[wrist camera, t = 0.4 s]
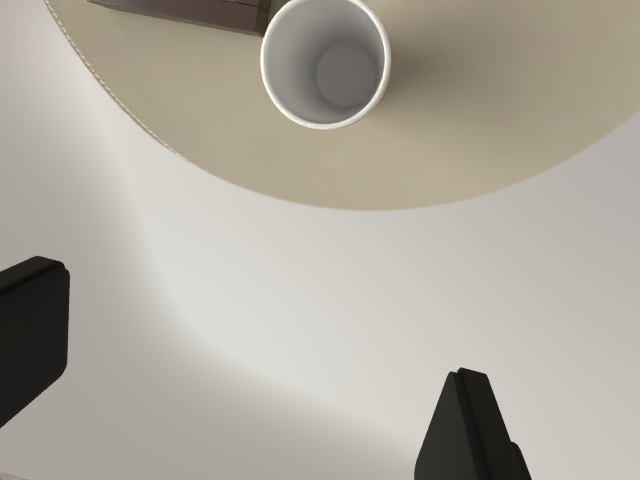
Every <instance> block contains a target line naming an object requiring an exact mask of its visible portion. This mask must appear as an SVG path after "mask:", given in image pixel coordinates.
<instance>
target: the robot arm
mask: <svg viewBox="0 0 640 480" xmlns="http://www.w3.org/2000/svg"><path fill="white" fill-rule="evenodd" d="M69 286H70V274H69V271H68V270H67V269H65V266H64V264H63V263H62V262H60V261H56V260H52V259H48V258H45V257H41V256H35V257H32V258H30V259H28V260H25V261H23V262H21V263H19V264H17V265H14V266H12V267H10V268H8V269H5V270H4V271H1V272H0V428H1V427H2V426H3V425H5V424H6V423H7V422H8V421H9V420H11V419H12V418H13V417H14V416H15V415H16V414H18V413H19V412H20V411H21V410H22V409H23V408H25V407H26V406H27V405H28V404H29V403H30V402H32V401H33V400H34V399H35V398H36V397H37V396H39V395H40V394H41V393H42V392H43V391H44V390H45V389H47V388H48V387H49V386H50V385H51V384H53V383H54V382H55V381H56V380H57V379H58V378H59V377H60V376H61V375H62V374H63V372H64V370H65V368H66V365H67V352H68V320H69V288H70V287H69ZM0 480H27V479H23V478H20V477H17V476H13V475H9V474H6V473H3V472H0ZM414 480H532V479H531V476H530V474H529V471H528V468H527V466H526V463H525V461H524V458H523V455H522V453H521V450H520V448H519V447H518V445H517V444H516V443H514V442H511V440H510V438H509V435H508V432H507V429H506V426H505V424H504V421H503V418H502V415H501V413H500V410H499V407H498V404H497V401H496V399H495V396H494V393H493V390H492V388H491V385H490V382H489V379H488V377H487V375H486V374H484V373H480V372H477V371H473V370H469V369H465V368H459V370H458V371H457V373H456V372H449V374H448V376H447V378H446V381H445V384H444V387H443V390H442V392H441V395H440V398H439V400H438V403H437V406H436V409H435V412H434V414H433V417H432V420H431V422H430V425H429V428H428V431H427V433H426V436H425V439H424V441H423V444H422V447H421V450H420V453H419V455H418V458H417V461H416V465H415V472H414Z"/></svg>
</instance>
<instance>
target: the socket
mask: <svg viewBox="0 0 640 480" xmlns="http://www.w3.org/2000/svg"><path fill="white" fill-rule="evenodd" d="M87 1H88V2H91V3H94V4H97V5H100V6H103V7H106V8H109V9H115V10H120V11H125V12H131V13H136V14H141V15H147V16H152V17H157V18H163V19H168V20H173V21H179V22H184V23H189V24H195V25H200V26H205V27H211V28H216V29H221V30H227V31H232V32H238V33H243V34H248V35H254V36H259V37H264V36H265V33H266V30H267V22H268V13H269V8H270V0H236V2H237V3H236V2H231V1H225V0H87Z"/></svg>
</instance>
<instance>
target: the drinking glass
mask: <svg viewBox="0 0 640 480" xmlns="http://www.w3.org/2000/svg"><path fill="white" fill-rule="evenodd" d="M260 62H261V73H262V78H263V81H264V85H265V87H266V90H267V92H268V94H269V96H270V98H271V99H272V101H273V102H274V104H275V105H276V106H277V108H278V109H279V110H280V111H281V112H282V113H283V114H284V115H286V116H287V117H288V118H290V119H291V120H293V121H294V122H296V123H298V124H300V125H302V126H305V127H308V128H312V129H319V130H330V129H338V128H343V127H346V126H349V125H352V124H354V123H356V122H358V121H360V120H361V119H363V118H364V117H366V116H367V115H368V114H369V113H370V112H371V111H372V110H373V109H374V108H375V107H376V106H377V105H378V103H379V102H380V101H381V99H382V97H383V96H384V94H385V91H386V89H387V87H388V84H389V80H390V76H391V69H392V55H391V48H390V43H389V40H388V36H387V34H386V31H385V29H384V26H383V24H382V22H381V21H380V19H379V18H378V16H377V15H376V13H375V12H374V11H373V10H372V9H371V8H370V7H369V6H368V5H367V4H366V3H365V2H363V1H362V0H290V1H289V2H288V3H287V4H285V5H284V6H283V7H282V8H281V9H280V10H279V11H278V13H277V14H276V15H275V16H274V18H273V19H272V21H271V23H270V24H269V26H268V28H267V31H266V33H265V36H264V39H263V43H262V48H261V57H260Z"/></svg>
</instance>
